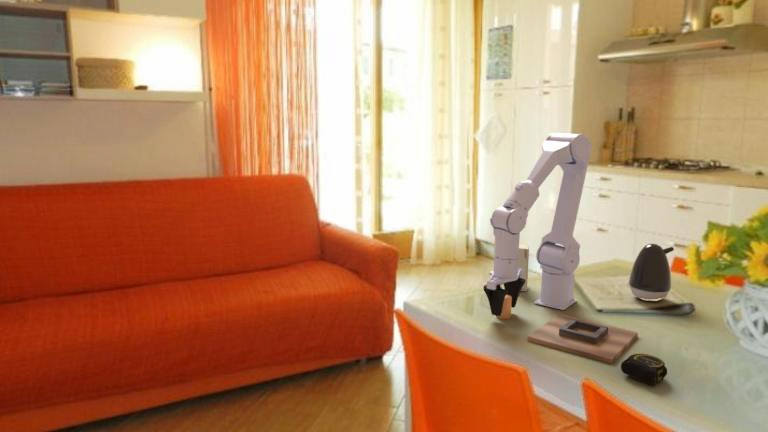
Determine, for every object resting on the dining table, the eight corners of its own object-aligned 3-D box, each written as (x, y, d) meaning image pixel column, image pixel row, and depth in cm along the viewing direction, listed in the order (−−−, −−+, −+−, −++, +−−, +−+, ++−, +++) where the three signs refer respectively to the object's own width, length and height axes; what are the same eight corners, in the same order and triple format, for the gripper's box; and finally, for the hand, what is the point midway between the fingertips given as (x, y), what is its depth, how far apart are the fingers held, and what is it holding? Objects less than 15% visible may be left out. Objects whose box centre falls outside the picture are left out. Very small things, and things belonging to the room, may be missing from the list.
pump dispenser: (677, 305, 147) (683, 248, 144) (637, 305, 147) (642, 248, 144) (659, 293, 157) (664, 239, 154) (621, 292, 157) (626, 239, 154)
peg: (500, 312, 141) (501, 293, 140) (513, 316, 139) (514, 296, 138) (493, 316, 138) (494, 297, 137) (506, 320, 136) (507, 300, 135)
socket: (559, 317, 138) (560, 307, 137) (637, 336, 126) (638, 325, 126) (527, 340, 124) (528, 329, 123) (611, 364, 113) (612, 352, 112)
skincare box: (527, 292, 157) (529, 249, 154) (511, 291, 157) (513, 248, 155) (526, 285, 163) (528, 243, 161) (510, 284, 164) (512, 243, 161)
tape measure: (617, 376, 108) (619, 357, 107) (638, 367, 112) (640, 349, 111) (651, 391, 102) (653, 371, 102) (672, 380, 106) (674, 362, 106)
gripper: (505, 248, 143) (502, 299, 146) (476, 260, 132) (474, 315, 135) (531, 253, 139) (528, 305, 142) (503, 265, 128) (500, 322, 131)
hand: (503, 310), depth 138 cm, fingers open, 7 cm apart
